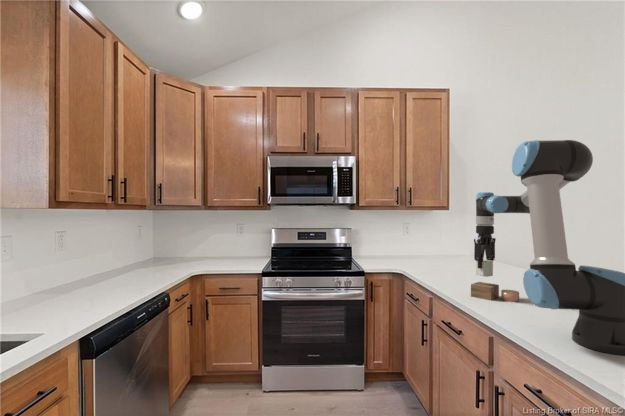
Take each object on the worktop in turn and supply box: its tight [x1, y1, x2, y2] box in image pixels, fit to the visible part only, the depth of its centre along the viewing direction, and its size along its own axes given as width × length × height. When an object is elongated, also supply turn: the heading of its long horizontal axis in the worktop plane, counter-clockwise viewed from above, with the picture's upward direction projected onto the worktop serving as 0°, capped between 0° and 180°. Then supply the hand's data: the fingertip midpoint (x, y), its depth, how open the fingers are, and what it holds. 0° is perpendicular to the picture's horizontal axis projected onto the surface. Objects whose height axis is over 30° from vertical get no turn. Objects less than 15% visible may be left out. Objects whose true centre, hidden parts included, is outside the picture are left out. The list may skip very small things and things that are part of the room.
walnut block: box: [470, 281, 500, 301], centre depth 158 cm, size 9×9×6 cm
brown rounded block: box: [500, 289, 520, 303], centre depth 152 cm, size 7×7×4 cm
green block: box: [475, 258, 494, 277], centre depth 158 cm, size 5×5×7 cm
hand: (484, 274), depth 158 cm, fingers closed on green block, 5 cm apart
